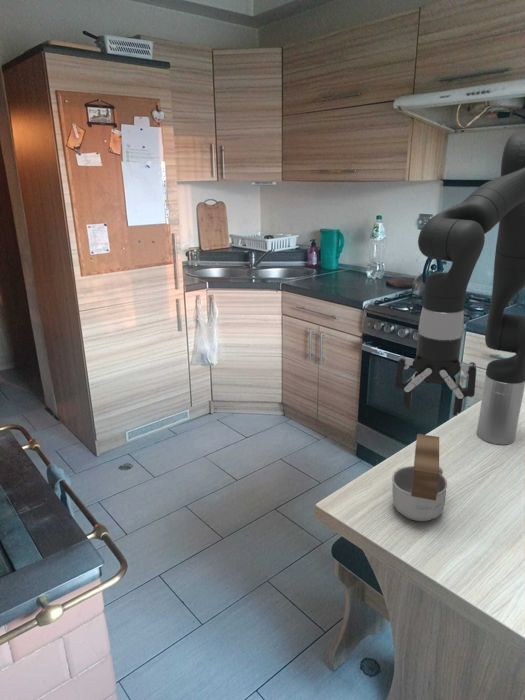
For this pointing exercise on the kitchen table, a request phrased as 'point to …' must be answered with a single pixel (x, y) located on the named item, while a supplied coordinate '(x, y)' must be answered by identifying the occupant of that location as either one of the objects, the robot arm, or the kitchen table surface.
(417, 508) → the teacup
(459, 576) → the kitchen table surface
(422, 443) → the walnut beam
